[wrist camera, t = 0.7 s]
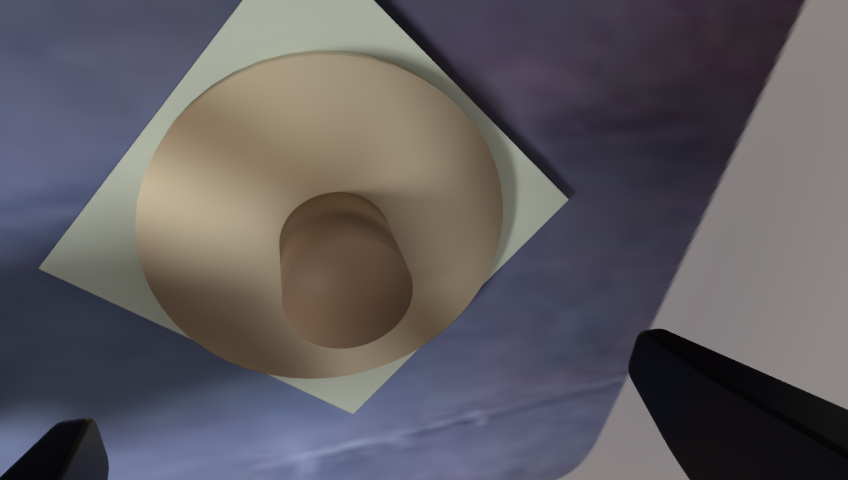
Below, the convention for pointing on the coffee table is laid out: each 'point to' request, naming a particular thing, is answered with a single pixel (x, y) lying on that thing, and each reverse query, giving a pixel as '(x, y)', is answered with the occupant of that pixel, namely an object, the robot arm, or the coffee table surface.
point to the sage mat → (240, 47)
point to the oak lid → (318, 215)
